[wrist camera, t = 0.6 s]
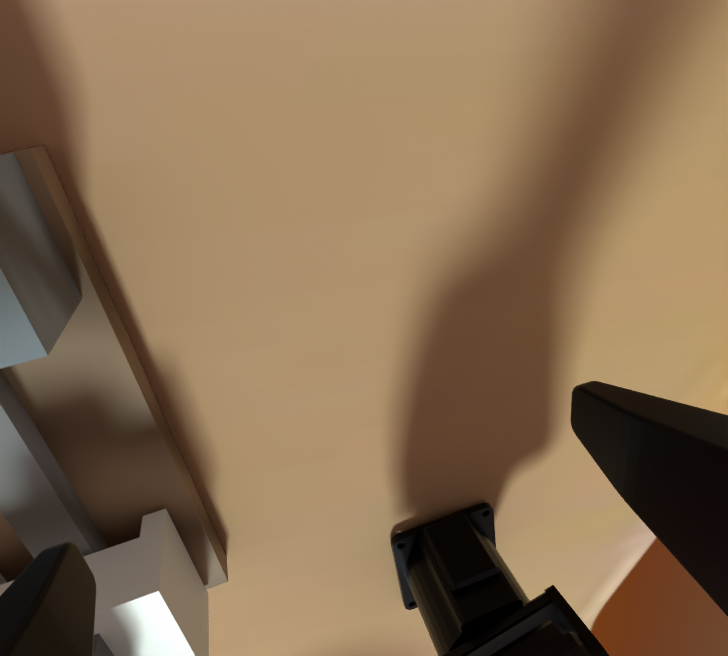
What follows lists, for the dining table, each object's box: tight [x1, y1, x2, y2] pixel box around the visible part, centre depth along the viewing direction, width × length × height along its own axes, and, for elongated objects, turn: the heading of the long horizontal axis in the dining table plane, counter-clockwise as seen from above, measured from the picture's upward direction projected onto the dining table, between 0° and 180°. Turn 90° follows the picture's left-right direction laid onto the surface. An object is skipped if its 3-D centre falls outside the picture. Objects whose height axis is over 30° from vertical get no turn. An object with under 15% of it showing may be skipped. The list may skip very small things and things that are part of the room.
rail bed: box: [0, 145, 228, 589], centre depth 18 cm, size 21×10×6 cm, turn 10°
